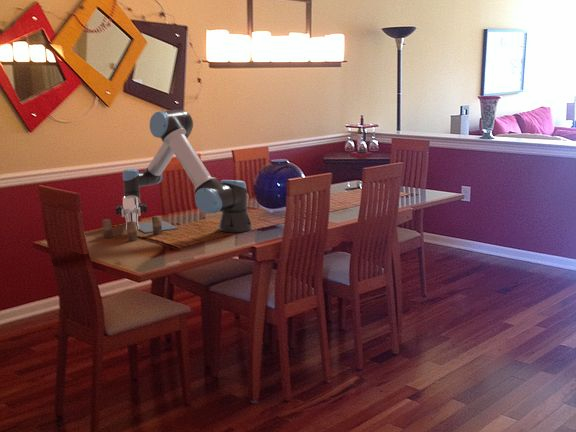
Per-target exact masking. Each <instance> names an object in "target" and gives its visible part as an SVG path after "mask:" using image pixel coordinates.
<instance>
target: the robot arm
mask: <svg viewBox="0 0 576 432" xmlns="http://www.w3.org/2000/svg"><path fill="white" fill-rule="evenodd" d="M148 125H149V130H150V133H151V135H152V136H153V137H155V138H156V139H157V138H158V139H160V140H161V141H162V143H161V146H160V147H158V150H157V151H156V154H155V155H154V157H153V158H152V159H151V161H150V162H149V164H148V166H147V167H146V169H145V170H143V171H139V170H138V169H137V168H128V169H124V170H123V171H122V181H123V193H124V195H123V197H125V196H137V197H138V204H139V208H138V217H139V216H140V217H141V216H142V215H141V214H144V213H148V207H147V203H145V202H144V203H142V199H141V190H140V188H142V187H149V186H155V185H157V184H160V183H161V182H162V181H163V172H164V171H165V170H166V168H167V166H168V165H169V163H170V162H171V160H172V159H173V157H174V155H175V158H176V159H177V160H178V162H179V164H180V165H181V166H182V168H183V170H184V172H185V173H186V175H187V176H188V178H189V179H190V181H191V183H192V185H193V186H194V191H193V192H194V193H195V194H194V199H195V200H194V202H195V205H196V207H197V208H198V210H199V211H201V212H202V213H204V214H208V215H209V214H216V213H219V212H221V217H220V220H219V223H218V231H220V232H224V233H240V232H243V233H244V232H247V231H251V230H252V227H253V226H252V222H251V219H250V216H249V212H248V201H247V194H248V192H247V190H248V189H247V184H246V182H245V181H243V180H240V179H237V180H235V179H221V180H220V181H219V180H218V179H217V177H212V175H211V174H210V172H209V171H208V169H207V168H206V166H205V164H204V163H203V162H202V160H201V158H200V156H199V155H198V153H197V152H196V150H195V149H194V147H193V146H192V144H191V142H190V141H189V137H190V135H191V134H192V131H193V127H194V121H193V118H192V116H191V114H190V113H189V112H188V111H186V110H184V109H171V110H161V111H156V112H154V113H152V115H151V117H150V119H149V124H148ZM141 203H142V204H141ZM115 214H116V215H119V216H120V217H121V218H125V215H124V209H123V205H120V204H117V205H116V208H115Z"/></svg>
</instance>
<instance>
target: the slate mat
mask: <svg viewBox="0 0 576 432" xmlns="http://www.w3.org/2000/svg"><path fill="white" fill-rule="evenodd" d="M138 225H139V229H138V230H139V232H142V233H144V234H150V233H152V234H153V224H152V221H151V222H142V223H138ZM161 226H162V232H165V230H167V231H172V230H173V229H174V230H178V229H179V227H178V226H175V225H173V224H171V223H169V222H167V221H166V220H161ZM138 230H137V231H138Z"/></svg>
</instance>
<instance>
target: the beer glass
mask: <svg viewBox="0 0 576 432" xmlns="http://www.w3.org/2000/svg"><path fill="white" fill-rule="evenodd" d="M122 206H123V209H124V218H125V223H126V224H125V231H127V222H132V221H134V222H136V230H137V231H138V229H139V225H138V224H139V213H138V208H139V204H138V197H137V196H125V197H124V196H122Z"/></svg>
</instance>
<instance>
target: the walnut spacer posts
mask: <svg viewBox="0 0 576 432" xmlns="http://www.w3.org/2000/svg"><path fill="white" fill-rule="evenodd" d="M161 221H162V216H161V215H154V216H151V222H152V224H153V232H152V235H153V234H154V236H159V234H160V235H162V234H163V231H162V226H161ZM112 222H113V221H112V219H110V218H109V219H108V218H106V219H105V218H104V219H102V234H103V239H112V238H113V237H114V236H113V235H114V234H113V225H112V224H113V223H112ZM137 231H138V230H136V222H134V221H132V222H127V230H126V233H127V241H128V242H134V241H135V242H137V240H138V234H137V233H138V232H137Z"/></svg>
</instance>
